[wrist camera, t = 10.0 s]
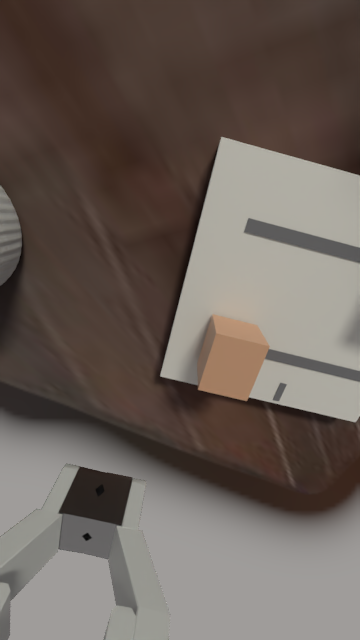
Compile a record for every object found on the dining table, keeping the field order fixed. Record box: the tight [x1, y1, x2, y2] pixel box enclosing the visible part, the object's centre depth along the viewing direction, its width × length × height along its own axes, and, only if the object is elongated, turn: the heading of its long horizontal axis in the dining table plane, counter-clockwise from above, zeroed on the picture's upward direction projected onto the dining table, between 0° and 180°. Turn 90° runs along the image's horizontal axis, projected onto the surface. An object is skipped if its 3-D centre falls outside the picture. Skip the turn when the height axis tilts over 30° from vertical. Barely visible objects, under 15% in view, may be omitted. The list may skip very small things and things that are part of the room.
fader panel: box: [160, 137, 360, 422], centre depth 23 cm, size 20×20×2 cm
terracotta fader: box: [197, 314, 270, 401], centre depth 22 cm, size 4×5×4 cm
